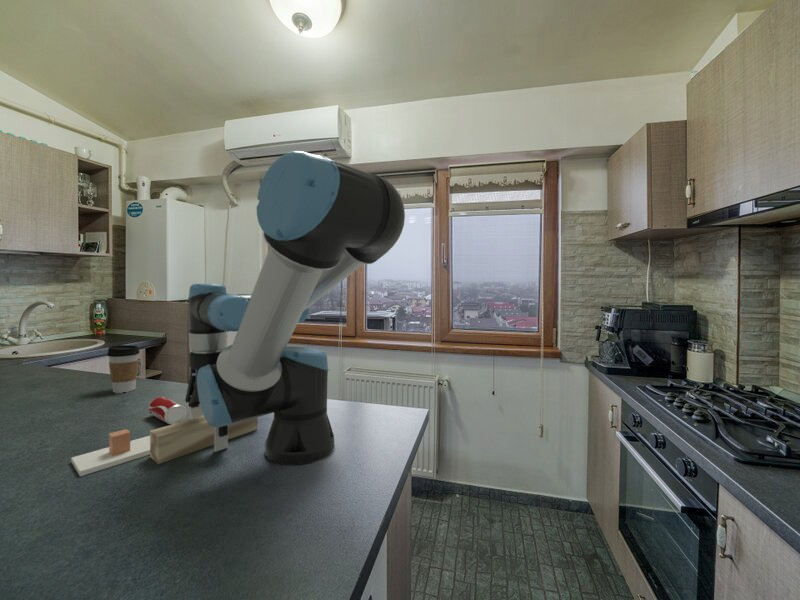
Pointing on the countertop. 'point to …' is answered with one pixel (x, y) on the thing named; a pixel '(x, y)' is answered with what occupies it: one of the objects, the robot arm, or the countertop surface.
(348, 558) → the countertop surface
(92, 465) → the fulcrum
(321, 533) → the countertop surface
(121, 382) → the coffee cup
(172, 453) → the beech bar
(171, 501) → the countertop surface
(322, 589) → the countertop surface
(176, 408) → the soda can
